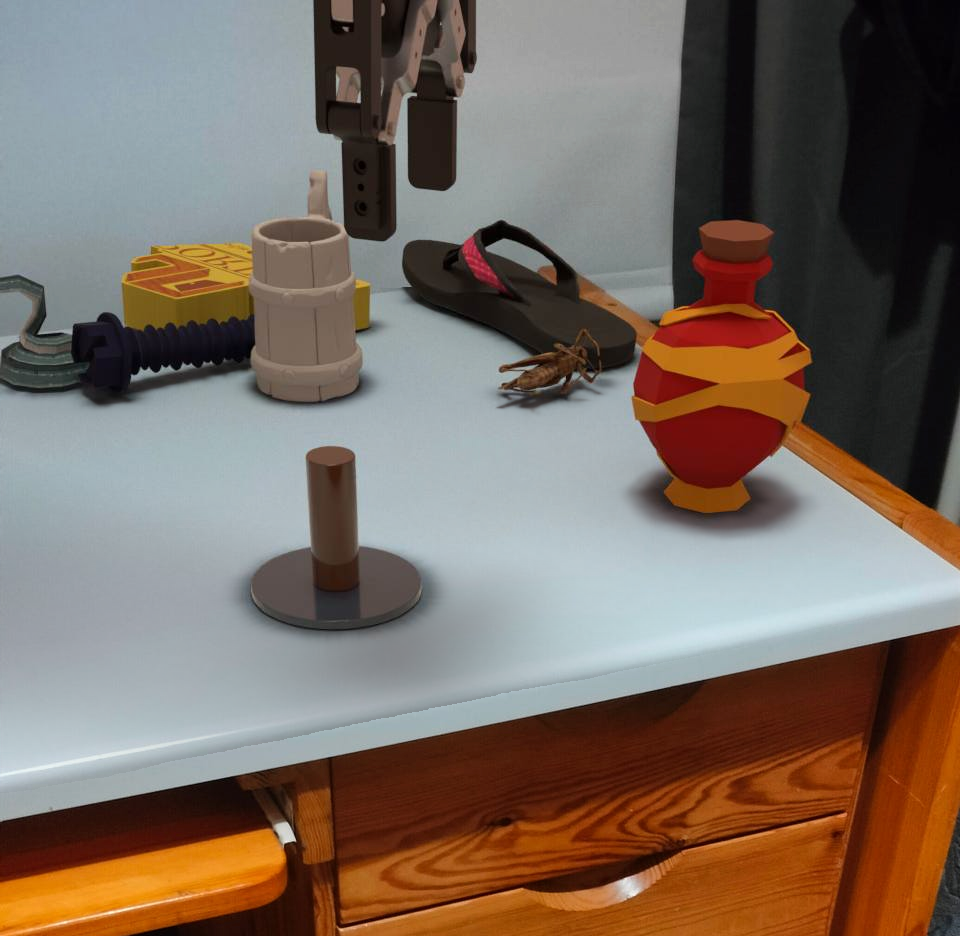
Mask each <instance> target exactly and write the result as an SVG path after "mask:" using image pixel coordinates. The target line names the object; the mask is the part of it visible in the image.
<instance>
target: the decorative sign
mask: <svg viewBox="0 0 960 936" xmlns="http://www.w3.org/2000/svg"><path fill="white" fill-rule="evenodd" d="M150 253H151V255H147V254H146V255H140V256H135V257H134V258H133V259H132V260H131V261H130V268H131V271H129V272H124V274H123V275H122V278H121V281H120V282H121V294H122V295H121V296H122V309H123V322H124V323H123V324H124V326H125V327H127V326H128V327H131V328H132V329H133V330H136V331H137V330H139V329H140V330H142V331H143V330H144V328H145V326H146V325H148V324H150V325H152V326H153V327H154V328H155V329H156V330H157V329H158V328H160V327H161V328H163V329H164V328H165V325H166V324H167V323H169V322H171V323H173V324H174V325H175V326H176V327H177V329H178V327H179V326H181V325H183V326H185V327H186V325H187V323H188V322H189V321H191V320H193V321H195V322H196V323H197V324H198V326H199V325H200V324H201V323H203V324H205V325H206V323H207V321H208V320H209V319H211V318H213V319H215V320H216V321H217V322H218V323H219V324H220V323H221V322H222V321H225V322H227V321H228V319H229V318H230V317H232V316H234V317H237V318H238V319H239V321H241V320H242V319H244V320H247V318H248V317H249V316H250V315H252V314H254V297H253V296H252V295H251V294H250V293H249V276H250V274H251V273H252V271H253V263H252V245H248V244H244V243H242V242H241V243H240V242H238V243H230V244H226V243H224V244H202V245H201V244H198V245H197V244H195V245H175V246H170V245H169V246H151V252H150ZM370 305H371V284H370V283H369V282H367V281H364V280H361V279H357V278H356V289H355V293H354V294H353V306H354V320H355V331H359V330H362V329H363V330H364V329H368V328H370V319H371V318H370V311H371V310H370V308H371V307H370Z"/></svg>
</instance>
